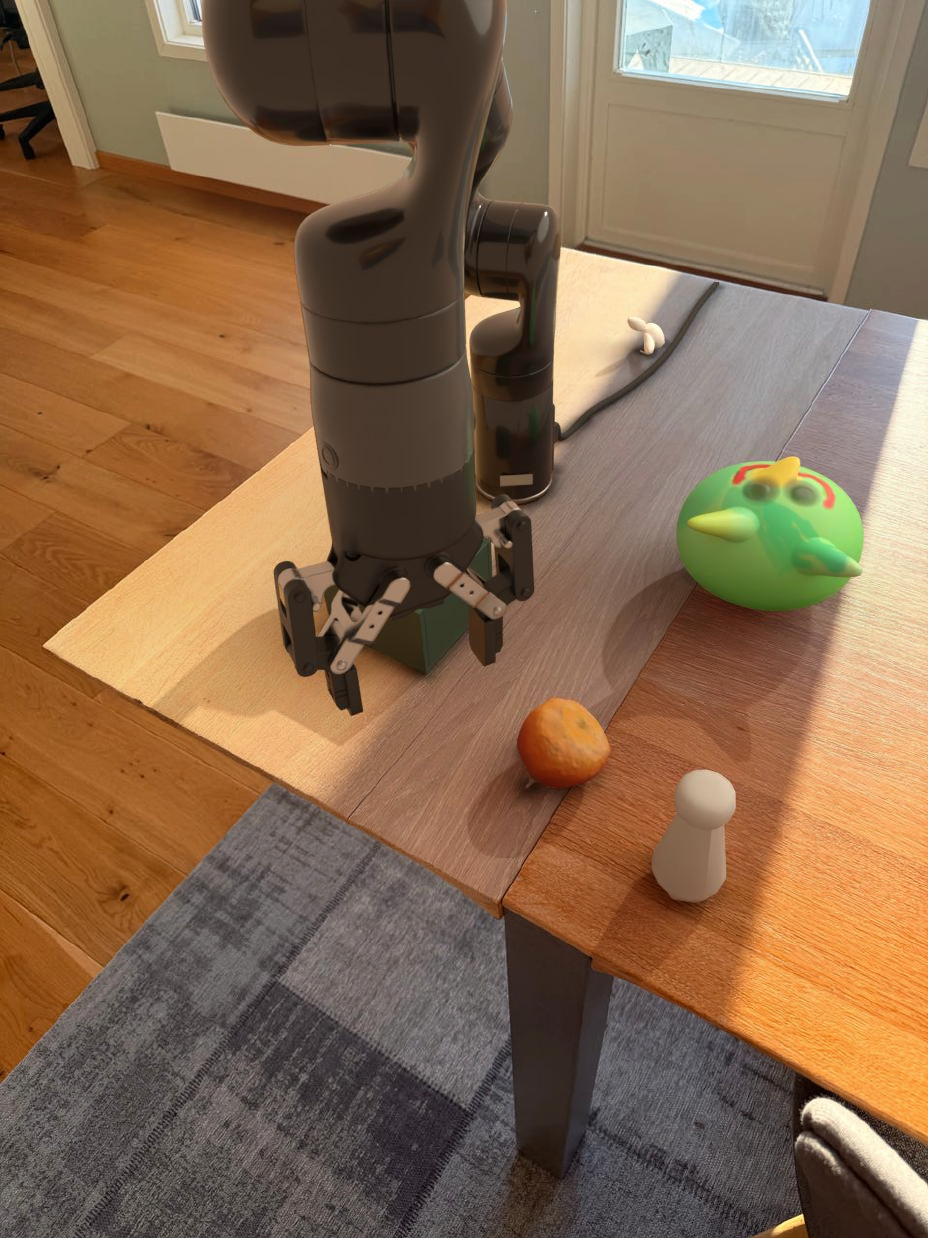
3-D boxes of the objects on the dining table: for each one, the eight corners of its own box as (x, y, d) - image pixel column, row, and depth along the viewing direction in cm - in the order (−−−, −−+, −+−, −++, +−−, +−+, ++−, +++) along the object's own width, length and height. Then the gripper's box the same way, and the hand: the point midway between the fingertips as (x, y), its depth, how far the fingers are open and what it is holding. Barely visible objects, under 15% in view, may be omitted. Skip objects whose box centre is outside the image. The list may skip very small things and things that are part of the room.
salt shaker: (721, 919, 71) (750, 831, 61) (646, 907, 72) (664, 818, 62) (721, 853, 75) (748, 761, 65) (651, 843, 76) (668, 750, 66)
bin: (401, 560, 102) (393, 500, 96) (493, 600, 97) (491, 539, 91) (331, 628, 95) (317, 567, 89) (426, 675, 90) (418, 614, 84)
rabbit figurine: (679, 347, 132) (657, 345, 126) (658, 364, 134) (636, 363, 128) (657, 314, 133) (635, 310, 127) (637, 332, 135) (614, 329, 129)
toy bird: (847, 553, 99) (885, 441, 89) (839, 663, 88) (880, 550, 78) (682, 525, 104) (699, 415, 94) (654, 626, 93) (670, 515, 83)
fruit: (491, 728, 83) (536, 675, 78) (563, 747, 86) (611, 697, 81) (501, 803, 77) (551, 750, 73) (578, 821, 81) (630, 771, 76)
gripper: (492, 374, 48) (495, 607, 59) (229, 441, 43) (284, 681, 54) (565, 436, 43) (554, 680, 53) (275, 520, 38) (326, 768, 49)
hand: (418, 680), depth 54 cm, fingers open, 8 cm apart
